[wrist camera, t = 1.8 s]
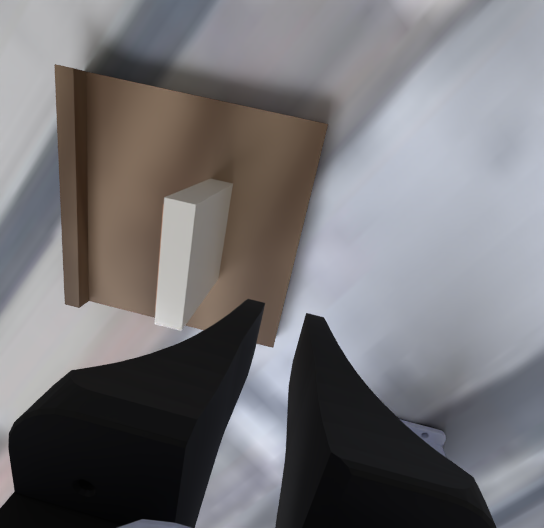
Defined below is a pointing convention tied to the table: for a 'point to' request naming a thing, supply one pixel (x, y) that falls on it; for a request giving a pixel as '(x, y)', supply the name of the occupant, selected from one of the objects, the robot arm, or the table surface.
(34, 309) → the table surface
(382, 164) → the table surface
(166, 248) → the tile
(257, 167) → the board
